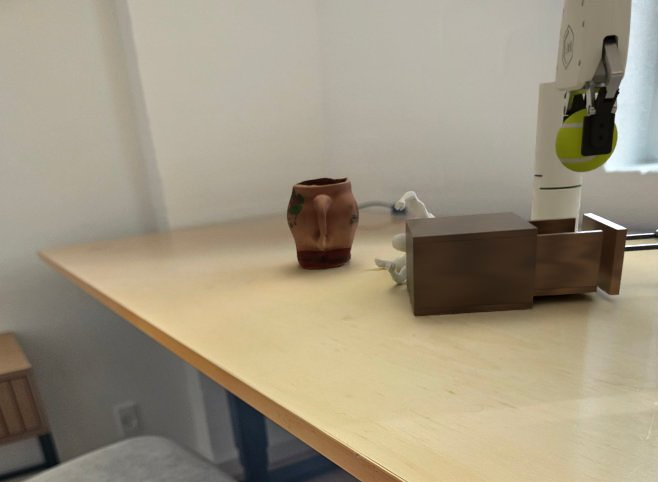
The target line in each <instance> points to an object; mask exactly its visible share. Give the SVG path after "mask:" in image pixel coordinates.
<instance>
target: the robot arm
mask: <svg viewBox="0 0 658 482" xmlns="http://www.w3.org/2000/svg"><path fill="white" fill-rule="evenodd" d="M632 3H633V1H632V0H564V3H563V8H562V13H561V14H562V15H561V22H560V28H559V30H560V31H559V40H558V49H557V58H556V60H557V61H556V70H555V79H554V82H555V87H556V88H557V90H559V91H566V93H565V95H564V99H565V104H564V109H563V114H564V116H563V123H564V122H565V120H566V119H567V118H569V117H570V116H571V115H572V114H574V113H576V112H578V111H580V110H583V109H587V113H588V116H584V119H583V131H582V143H581V155H582V156H594V155H605V154H610V153H611V151H612V143H613V133H614V123H615V124H616V122H615V121H616V113H617V110H618V96H619V95H620V89H621V88H620V87H621V83H622V81H623V80H624V78H625V76H626V75H625V74H626V70H627V64H628V57H629V47H630V38H631V23H632ZM583 94H585V97H584V99H583ZM596 94H597V95H596Z"/></svg>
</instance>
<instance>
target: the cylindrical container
mask: <svg viewBox="0 0 658 482" xmlns="http://www.w3.org/2000/svg"><path fill="white" fill-rule="evenodd" d="M565 93H566V91H559V90H557V88H556V87H555V81H552V82H543V83H539V87H538V99H537V100H538V102H537V103H538V104H537V118H536V132H535V134H536V135H535V149H534V166H533V174H534V175H533V180H532V181H533V183H532V195H531V196H532V197H531V212H530V214H531V216H530V220H542V219H556V218H570V217H575V218H576V223H575V232H579V231H578V230H579V219H580V209H581V198H582V187H583V185H582V184H583V177H584V172H575V171H572V170H570V169H568V168H566V167H565V166H564V165H563V164H562V163H561V161H560V160H559V158H558V157H557V154H556V147H555V143H556V137H557V134H558V131H559V129H560V128H561V126H562V125H563V116H564V114H563V109H564V104H565V99H564V95H565ZM584 97H585V94H583V99H584Z"/></svg>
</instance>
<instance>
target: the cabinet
mask: <svg viewBox="0 0 658 482" xmlns="http://www.w3.org/2000/svg"><path fill="white" fill-rule="evenodd" d="M527 221H528V220H526V219H524V218H523V217H522V216H519V214H517V213H515V212H514V211H503V212H491V213H477V214H464V215H463V214H462V215H452V216H451V215H450V216H448V215H447V216H435V218H421V219H415V218H408V219H405V233H406V252H405V254H406V274H407V279H406V290H407V296H408V298H409V302H410V306H411V309H412V314H413V316H414V317H420V316H434V315H437V316H439V315H452V314H469V313H482V312H483V313H484V312H485V313H486V312H500V311H517V310H532V309H533V306H534V303H533V302H534V296H533V293H534V279H535V264H536V249H537V235H538V228H537V227H535V226H534V225H532V224H531V223H529V222H527Z"/></svg>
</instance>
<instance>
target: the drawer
mask: <svg viewBox="0 0 658 482" xmlns="http://www.w3.org/2000/svg"><path fill="white" fill-rule="evenodd" d="M526 221H527V222H529V223H531V224H532V225H534V226H535V227H537V228H538V235H537V249H536V264H535V279H534V293H533V297H544V296H545V297H546V296H557V295H558V296H559V295H575V294H591V293H597V291H598V289H599V290H601V291H602V292H604V293H605V294H607V295H608V296H620V290H621V285H622V284H621V283H622V277H623V276H622V275H623V268H624V267H623V266H624V259H625V253H627V252H640V251H654V250H655V251H657V250H658V243H647V244H636V245H635V244H634V245H632V244H631V245H626V244H627V241H641V240H652V239H653V240H654V241H656V242H658V229H656V230H655V231H653V232H651V233H637V234H628V228H626V227H624V226H622V225H620V224H617V223H614V222H613V221H610V220H608V219H605V218H603V217H601V216H598V215H596V214H593V213H583V214H582V220H581V221H582V222H581V230H580V231H577V232H575V223H576V218H575V217H570V218H556V219H542V220H531V219H530V220H526Z"/></svg>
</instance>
